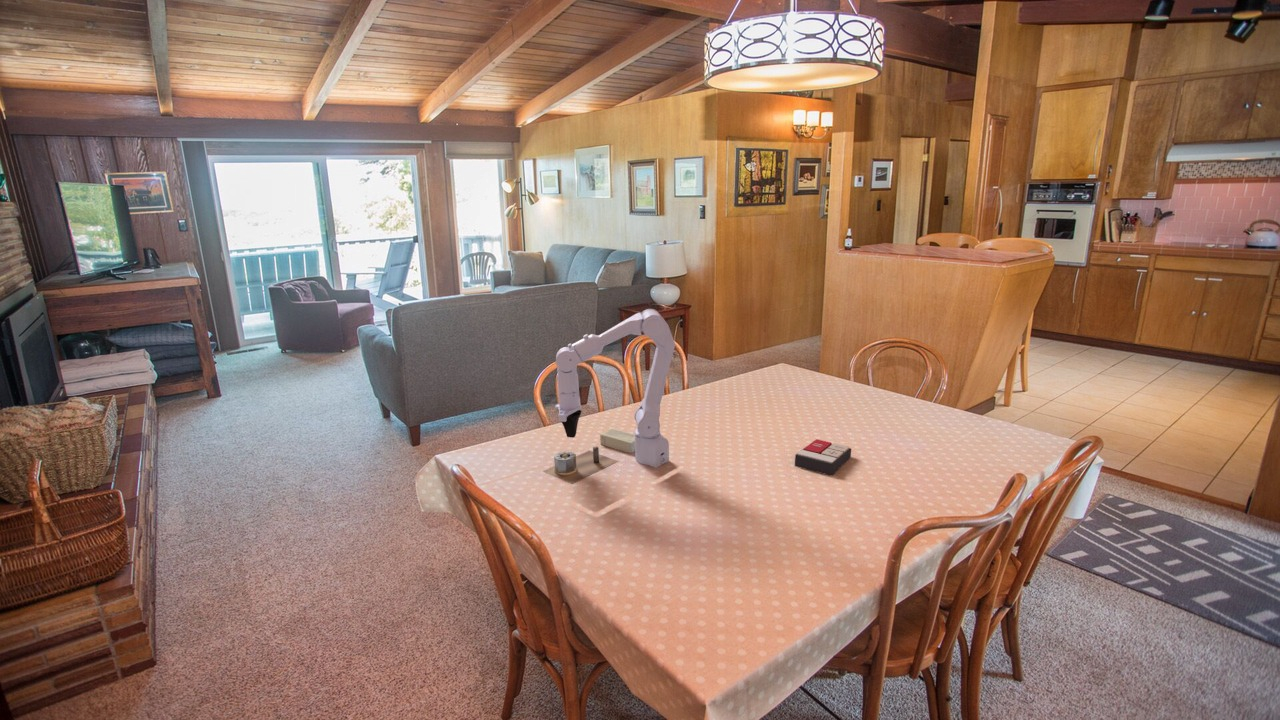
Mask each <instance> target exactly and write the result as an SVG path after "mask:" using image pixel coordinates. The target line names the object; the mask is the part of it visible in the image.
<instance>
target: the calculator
mask: <svg viewBox="0 0 1280 720" xmlns="http://www.w3.org/2000/svg"><path fill="white" fill-rule="evenodd" d="M851 457H852V448H850V446H849V445H848V446H847V445H844V444H839V443H836V442H835V443H832V442H831V441H826V440H821V439H815V440H814V441H812V442H811V443H809V444H807V446H805V447H804V448H803V449H801V450H800V451H798V452H797V453H795V456H794V467H796V468H800V467H801V469H804V468H805V470H809V471H813V472H816V473H821V474H823V473H825V474H824V475H827V474H828V475H829V476H834V475H835V473H836V472H838V471H839V469H840V468H841V467H842V466H843V465H844V464H846V462H848V461H849V459H850V458H851ZM828 475H827V476H828Z"/></svg>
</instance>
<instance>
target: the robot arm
mask: <svg viewBox="0 0 1280 720" xmlns="http://www.w3.org/2000/svg"><path fill="white" fill-rule="evenodd" d="M642 333H643V334H644V335H645V336H646V337H647V338H649V339H650V340H652V342H653V344H654V345H655V347H656V348H655V351H654V355H653V359H652V363H651V367H650V372H649V377H648V380H647V384H646V388H645V392H644V395H643V398H642V400H641V402H640V405H639V406H638V408H637V409H636V411H635V413H634V420H635V423H636V426H637V427H636V429H634V434H635V451H634V455H635V456H634V457H635V458H634V460H635V461H636V462H637V463H638V464H641V465H646V466H650V467H652V468H658V467H660V466H661V465H664V464H666V463H667V462H669V461H670V443H669V439H668V438H666V437H664V436H663V435H662V433H661V430H660V428H661V424H660V416H661V403H662V399H663V395H664V391H665V388H666V382H667V381H668V380H667V379H668V375H669V372H670V367H671V363H672V359H673V355H674V352H675V348H676V343H675V339H674V337H673V334H672V331H671V329H670V326H669V324H668V323H667V322H666V320H665V318H664V317H663V316H662V315H661V314H660V312H658V310H656V309H654V308H647V309H646V308H645V310H643V311H642V312H637V313H634V314H633V315H632V316H630V317H628V318H626V319H624V320H623V321H621V322H619V323H618V324H616V325H614V326H612V327H611V328H609V329H607V330H606V331H604V332H602V333H601V334H599V335H597V334H593V333H591V334H588V333H586V334H584V335H583V336H582V338H581V339H580V340H577V341H575V342H574V343H571V342H570V343H569V344H567V346H564V347H561V348H560V349H559V350H557V352H556V355H555V365H556V367H557V369H556V372H557V391H558V392H557V394H558V403H557V404H555V406H554V408H555V410H558V414H557V416H558V422H561V424H562V426H563V429H564V432H565V434H566V435H565V436H566V437H567V438H572V439H573V438H576V435H577V429H578V423H579V420H580V417H581V414H582V409H581V397H580V388H579V387H580V386H579V385H580V383H579V374H578V369H577V367H578V365H579V364H583V363H584V362H586V361H588V360H590V359H592V358H594V357H596V356H598V355H599V354H600V355H601V354H602V353H603V349H604V347H605V346H607V345H609V344H611V343H614V342H616V341H618V340H620V339H622V338H624V337H626V336H628V335H634V336H642Z"/></svg>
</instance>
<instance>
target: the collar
mask: <svg viewBox="0 0 1280 720" xmlns="http://www.w3.org/2000/svg"><path fill="white" fill-rule="evenodd" d="M564 454H567V455H568V457H567V458H562V456H563V455H564ZM576 456H577V455H576V454H575V453H574V452H572V451H565V450H564V451H560V452H557V453H556V454H555V455H554V456H553V459H554V461H553V463H554V466H555V470H556V471H557V472H558V473H570V472H573V471H574V470H575V469H576Z"/></svg>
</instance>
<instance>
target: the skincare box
mask: <svg viewBox="0 0 1280 720" xmlns="http://www.w3.org/2000/svg"><path fill="white" fill-rule="evenodd" d="M599 437H600V439H599V440H600V445H603V446H605V447H609V448H612V449H615V450H618V451H622V452H626V453H628V454H632V453H635V433H631V432H628V431H623V430H620V429H616V428H610V429H608V430H607V431H603V432H602V433H600V435H599Z"/></svg>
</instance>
